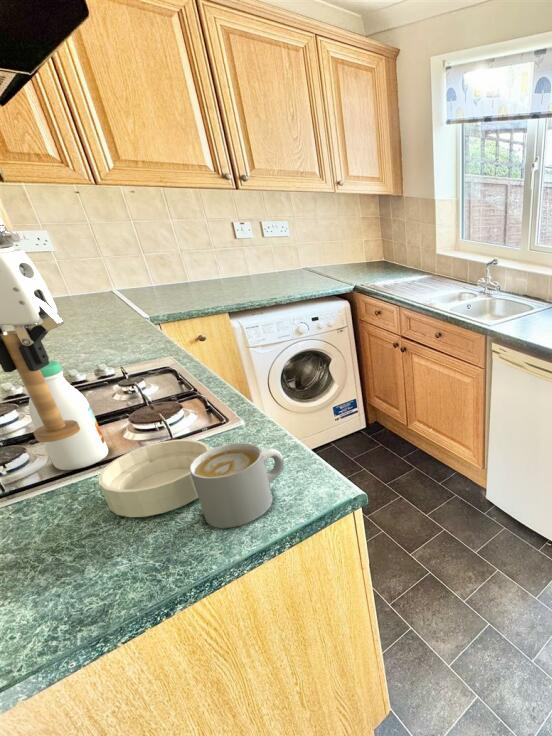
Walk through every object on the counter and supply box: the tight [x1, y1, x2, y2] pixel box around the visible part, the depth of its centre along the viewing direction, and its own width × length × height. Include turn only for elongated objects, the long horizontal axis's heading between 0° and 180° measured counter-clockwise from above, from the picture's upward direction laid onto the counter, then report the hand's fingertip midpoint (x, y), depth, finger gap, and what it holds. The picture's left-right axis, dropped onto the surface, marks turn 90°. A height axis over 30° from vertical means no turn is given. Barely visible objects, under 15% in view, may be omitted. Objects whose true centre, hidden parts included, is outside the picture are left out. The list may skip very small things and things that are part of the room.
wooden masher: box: [0, 330, 80, 443], centre depth 64 cm, size 5×5×17 cm
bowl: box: [97, 438, 211, 518], centre depth 74 cm, size 15×15×6 cm
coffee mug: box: [190, 442, 285, 529], centre depth 71 cm, size 13×10×10 cm
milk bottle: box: [27, 360, 109, 471], centre depth 77 cm, size 8×8×20 cm
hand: (27, 367), depth 63 cm, fingers closed on wooden masher
